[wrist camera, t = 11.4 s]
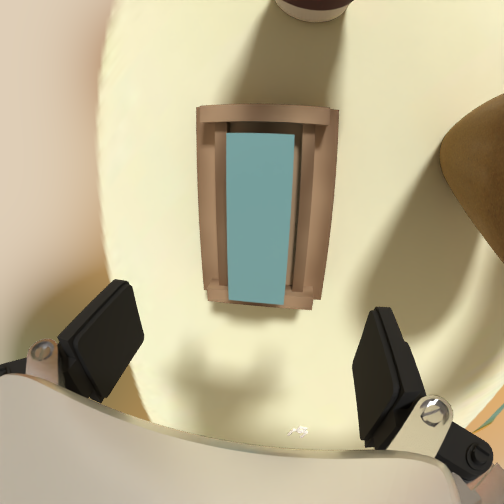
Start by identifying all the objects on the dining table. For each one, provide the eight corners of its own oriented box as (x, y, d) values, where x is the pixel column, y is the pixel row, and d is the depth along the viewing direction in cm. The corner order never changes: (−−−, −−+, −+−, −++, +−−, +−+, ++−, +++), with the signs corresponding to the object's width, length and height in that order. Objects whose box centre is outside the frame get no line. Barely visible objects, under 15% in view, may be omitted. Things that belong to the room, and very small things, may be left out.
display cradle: (333, 112, 23) (343, 108, 18) (318, 284, 30) (321, 311, 25) (206, 109, 24) (188, 105, 20) (211, 276, 32) (198, 300, 27)
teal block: (294, 134, 21) (294, 134, 17) (286, 275, 27) (283, 305, 22) (240, 132, 22) (226, 132, 17) (239, 271, 27) (228, 299, 23)
